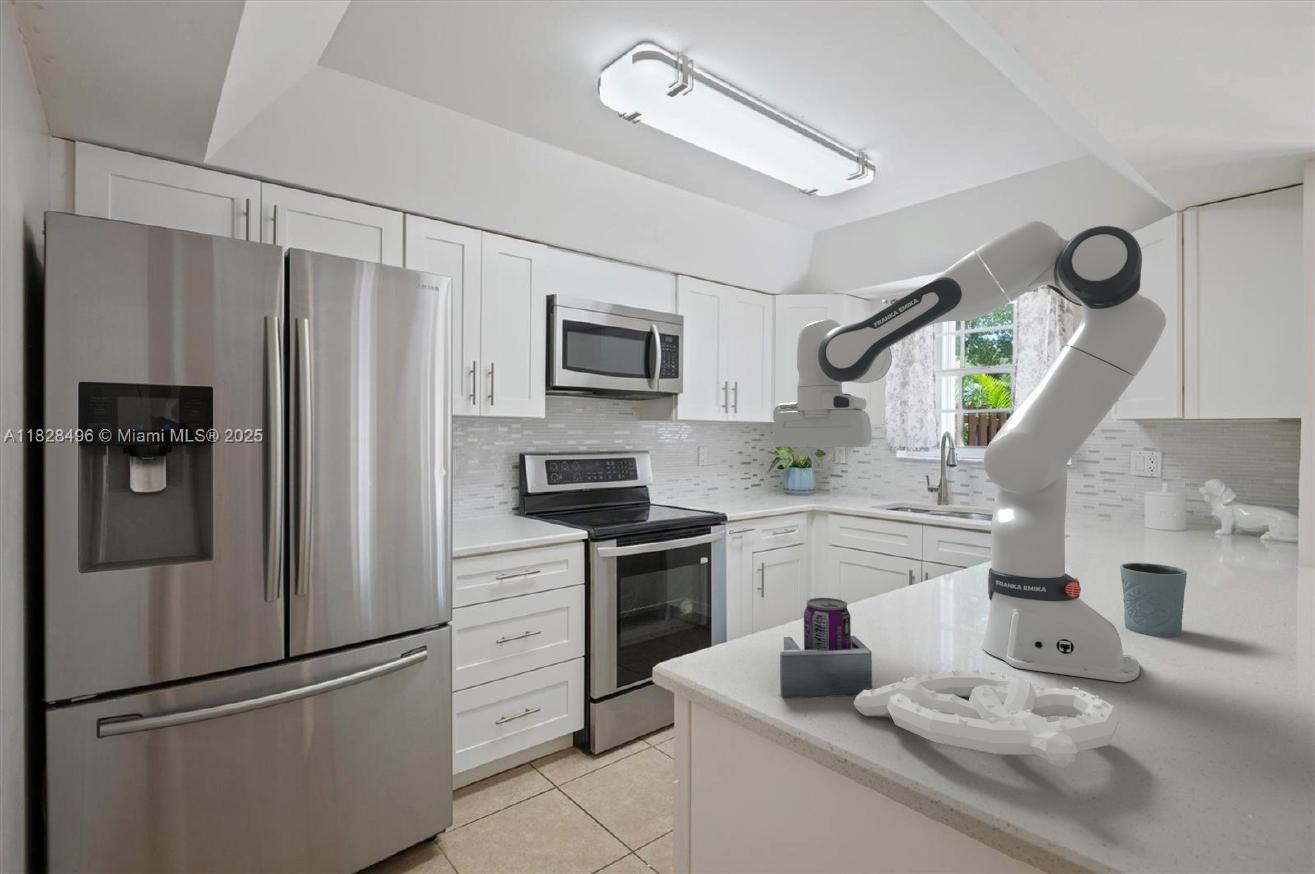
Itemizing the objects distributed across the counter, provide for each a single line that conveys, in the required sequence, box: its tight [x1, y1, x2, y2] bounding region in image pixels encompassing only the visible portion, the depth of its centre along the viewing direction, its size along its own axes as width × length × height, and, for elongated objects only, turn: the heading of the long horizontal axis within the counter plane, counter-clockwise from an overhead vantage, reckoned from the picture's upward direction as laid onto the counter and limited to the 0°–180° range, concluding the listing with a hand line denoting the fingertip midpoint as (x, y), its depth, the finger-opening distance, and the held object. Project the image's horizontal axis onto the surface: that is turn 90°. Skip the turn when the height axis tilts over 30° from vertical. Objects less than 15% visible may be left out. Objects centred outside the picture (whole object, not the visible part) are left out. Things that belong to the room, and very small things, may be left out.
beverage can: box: [803, 597, 852, 650], centre depth 99 cm, size 7×7×12 cm
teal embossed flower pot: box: [1119, 562, 1188, 638], centre depth 121 cm, size 10×10×12 cm
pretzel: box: [853, 668, 1121, 769], centre depth 80 cm, size 28×24×6 cm
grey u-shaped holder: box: [779, 635, 873, 698], centre depth 97 cm, size 9×14×7 cm, turn 92°
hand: (820, 469), depth 129 cm, fingers closed
